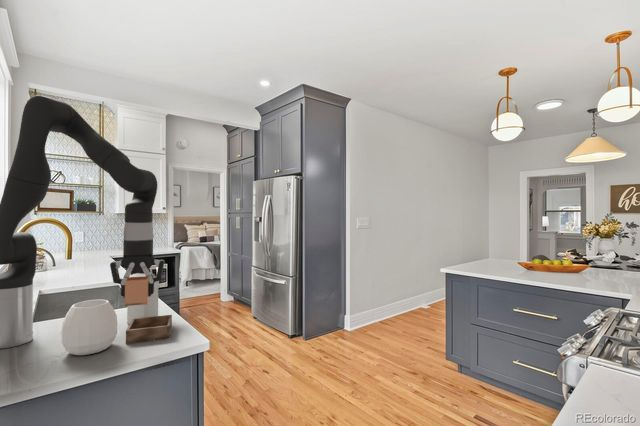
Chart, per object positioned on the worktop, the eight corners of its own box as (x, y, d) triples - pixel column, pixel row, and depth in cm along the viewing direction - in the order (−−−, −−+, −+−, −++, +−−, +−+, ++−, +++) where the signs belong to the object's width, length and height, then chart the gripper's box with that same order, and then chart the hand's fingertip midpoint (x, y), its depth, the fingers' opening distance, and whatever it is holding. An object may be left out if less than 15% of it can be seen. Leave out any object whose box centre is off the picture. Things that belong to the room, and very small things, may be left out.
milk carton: (144, 325, 115) (144, 271, 115) (126, 324, 116) (127, 270, 116) (158, 319, 122) (158, 267, 122) (141, 317, 123) (141, 267, 123)
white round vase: (128, 343, 99) (128, 298, 99) (88, 362, 86) (88, 311, 86) (92, 339, 102) (92, 296, 102) (48, 357, 89) (48, 308, 89)
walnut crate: (125, 344, 99) (125, 330, 99) (132, 330, 110) (132, 318, 110) (169, 338, 103) (169, 325, 103) (171, 326, 114) (171, 314, 114)
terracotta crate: (124, 306, 91) (125, 280, 91) (128, 300, 96) (128, 277, 96) (147, 304, 93) (147, 279, 93) (149, 299, 98) (150, 275, 98)
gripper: (106, 239, 88) (105, 302, 88) (165, 238, 94) (164, 297, 94) (112, 237, 95) (111, 295, 95) (166, 236, 101) (166, 291, 101)
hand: (137, 296), depth 95 cm, fingers closed on terracotta crate, 5 cm apart
